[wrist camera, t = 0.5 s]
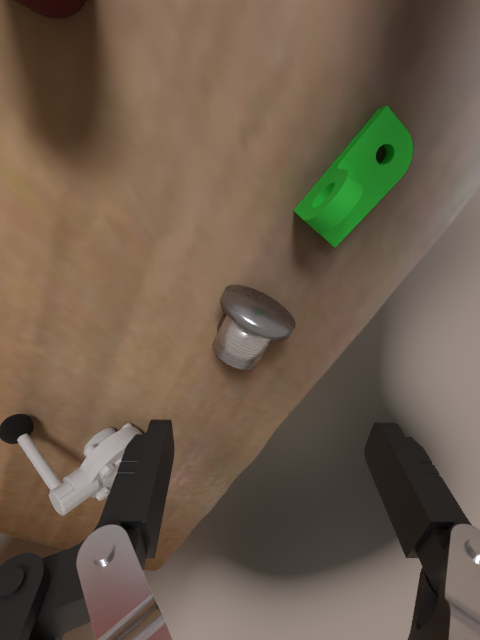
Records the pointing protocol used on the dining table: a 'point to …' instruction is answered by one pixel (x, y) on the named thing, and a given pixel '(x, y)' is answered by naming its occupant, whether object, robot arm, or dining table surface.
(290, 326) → the grey mushroom knob
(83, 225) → the dining table surface
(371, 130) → the mechanical part
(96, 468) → the mechanical valve
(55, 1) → the mug
